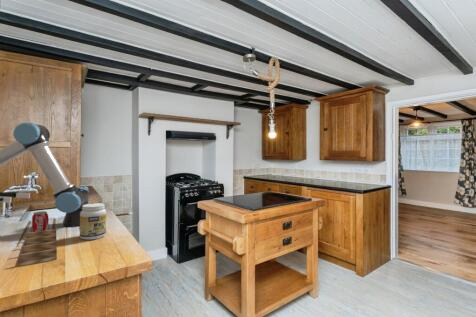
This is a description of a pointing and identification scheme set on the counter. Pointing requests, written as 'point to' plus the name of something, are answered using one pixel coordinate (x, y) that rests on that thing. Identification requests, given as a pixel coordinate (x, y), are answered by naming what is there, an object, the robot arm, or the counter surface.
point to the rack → (39, 247)
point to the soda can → (40, 221)
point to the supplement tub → (92, 221)
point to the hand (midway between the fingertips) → (20, 197)
